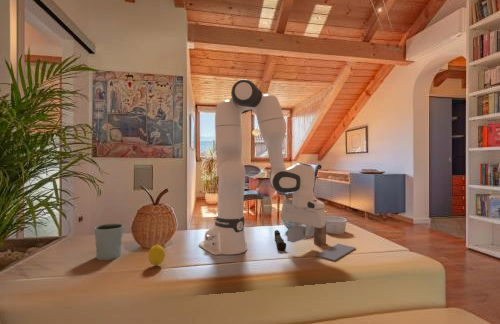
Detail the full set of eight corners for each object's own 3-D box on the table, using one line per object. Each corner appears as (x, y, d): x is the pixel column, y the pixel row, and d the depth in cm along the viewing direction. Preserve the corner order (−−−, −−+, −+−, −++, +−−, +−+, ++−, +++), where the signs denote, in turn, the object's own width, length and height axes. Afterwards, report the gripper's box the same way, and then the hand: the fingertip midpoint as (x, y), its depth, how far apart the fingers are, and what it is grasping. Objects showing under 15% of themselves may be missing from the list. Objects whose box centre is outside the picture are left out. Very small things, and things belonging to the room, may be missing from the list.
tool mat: (315, 256, 110) (315, 254, 110) (338, 244, 125) (338, 243, 125) (334, 261, 105) (334, 260, 105) (355, 249, 119) (355, 247, 119)
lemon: (164, 268, 98) (164, 245, 98) (147, 269, 96) (147, 247, 96) (164, 262, 103) (164, 241, 103) (149, 264, 101) (149, 242, 101)
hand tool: (286, 251, 116) (286, 240, 116) (276, 251, 116) (276, 240, 116) (281, 238, 135) (281, 229, 135) (273, 238, 135) (273, 229, 135)
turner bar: (287, 240, 111) (287, 228, 111) (307, 234, 123) (308, 223, 123) (293, 242, 109) (294, 230, 109) (313, 235, 121) (314, 224, 121)
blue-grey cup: (88, 258, 107) (88, 227, 106) (110, 250, 116) (110, 222, 116) (107, 262, 103) (107, 230, 103) (128, 253, 112) (128, 224, 112)
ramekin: (351, 234, 143) (351, 221, 142) (328, 235, 140) (329, 222, 139) (337, 227, 155) (338, 215, 155) (316, 229, 152) (316, 216, 152)
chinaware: (290, 236, 138) (290, 221, 138) (276, 229, 152) (276, 215, 152) (315, 233, 143) (315, 218, 143) (300, 226, 157) (300, 213, 157)
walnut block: (313, 243, 126) (314, 222, 126) (318, 241, 129) (318, 220, 129) (321, 245, 124) (321, 223, 124) (326, 243, 127) (326, 222, 126)
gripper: (278, 198, 121) (277, 229, 121) (320, 205, 107) (318, 241, 107) (287, 197, 125) (285, 227, 126) (328, 204, 111) (326, 238, 112)
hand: (301, 234), depth 116 cm, fingers closed on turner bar, 3 cm apart
